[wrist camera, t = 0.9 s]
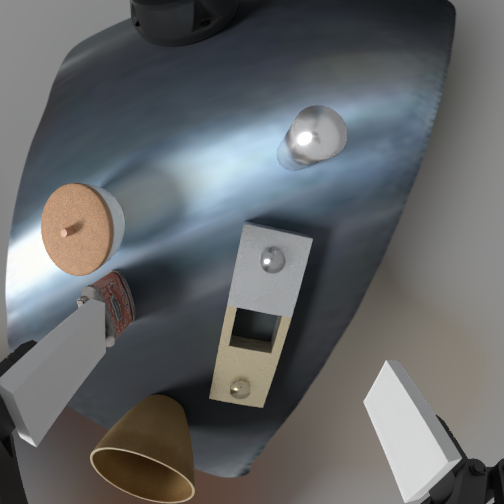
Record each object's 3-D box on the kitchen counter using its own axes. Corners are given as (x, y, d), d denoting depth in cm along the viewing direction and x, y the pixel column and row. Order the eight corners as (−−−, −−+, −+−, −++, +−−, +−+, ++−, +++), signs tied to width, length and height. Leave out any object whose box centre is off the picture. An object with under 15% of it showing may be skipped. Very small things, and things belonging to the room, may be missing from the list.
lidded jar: (107, 166, 34) (68, 162, 24) (152, 228, 35) (121, 241, 26) (62, 217, 35) (21, 226, 26) (102, 274, 37) (66, 297, 28)
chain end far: (229, 296, 37) (226, 308, 33) (288, 308, 37) (292, 321, 34) (211, 386, 40) (208, 402, 37) (262, 395, 41) (262, 412, 37)
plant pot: (134, 429, 44) (108, 490, 28) (118, 370, 40) (75, 435, 25) (210, 441, 44) (199, 510, 28) (206, 383, 40) (187, 463, 25)
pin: (280, 135, 33) (298, 99, 18) (312, 143, 33) (351, 114, 18) (273, 166, 34) (287, 150, 19) (305, 174, 34) (341, 165, 19)
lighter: (140, 320, 38) (111, 356, 28) (121, 322, 38) (90, 357, 29) (123, 267, 37) (87, 292, 27) (104, 271, 37) (65, 295, 27)
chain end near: (244, 220, 35) (243, 224, 31) (308, 234, 35) (314, 240, 31) (221, 333, 38) (218, 347, 34) (278, 343, 39) (280, 359, 35)
